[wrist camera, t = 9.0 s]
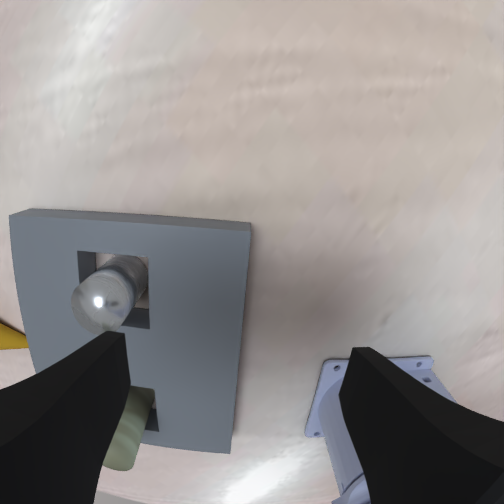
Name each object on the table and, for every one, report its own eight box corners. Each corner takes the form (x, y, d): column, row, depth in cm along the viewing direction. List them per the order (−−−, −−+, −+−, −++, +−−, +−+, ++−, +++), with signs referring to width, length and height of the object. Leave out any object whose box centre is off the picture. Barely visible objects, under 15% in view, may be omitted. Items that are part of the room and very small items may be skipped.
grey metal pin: (148, 255, 19) (121, 285, 14) (148, 299, 20) (124, 339, 15) (104, 251, 19) (67, 278, 14) (106, 294, 20) (74, 330, 15)
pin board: (250, 222, 19) (251, 231, 17) (230, 431, 24) (230, 453, 21) (30, 208, 18) (8, 215, 16) (63, 403, 23) (52, 420, 20)
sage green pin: (154, 379, 22) (130, 448, 15) (155, 407, 23) (136, 474, 16) (116, 372, 22) (84, 436, 15) (120, 400, 23) (93, 464, 16)
